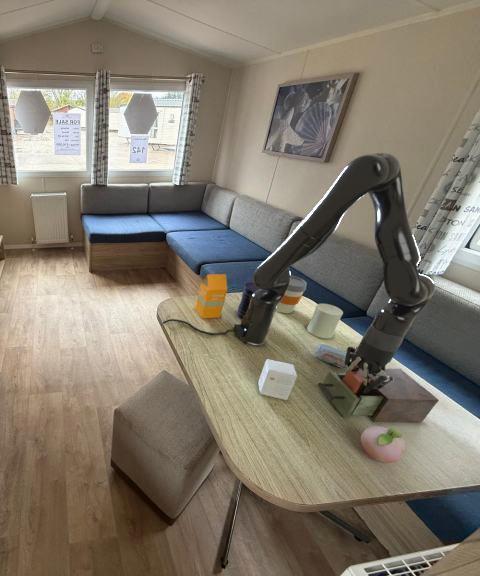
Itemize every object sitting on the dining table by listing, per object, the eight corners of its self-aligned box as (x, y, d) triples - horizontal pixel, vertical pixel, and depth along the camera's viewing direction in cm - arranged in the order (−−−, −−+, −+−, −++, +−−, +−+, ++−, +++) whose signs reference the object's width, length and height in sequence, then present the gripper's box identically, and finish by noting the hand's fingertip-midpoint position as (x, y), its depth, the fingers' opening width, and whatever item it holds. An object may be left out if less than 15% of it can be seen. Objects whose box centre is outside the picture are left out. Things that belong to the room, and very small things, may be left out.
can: (336, 333, 131) (347, 310, 125) (326, 341, 126) (338, 316, 120) (312, 323, 137) (322, 300, 132) (302, 329, 133) (312, 306, 127)
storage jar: (234, 309, 146) (241, 281, 139) (255, 311, 145) (264, 283, 138) (239, 321, 137) (248, 292, 130) (262, 323, 136) (272, 294, 129)
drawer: (329, 417, 91) (340, 398, 88) (306, 388, 101) (315, 370, 98) (389, 418, 92) (402, 400, 88) (360, 389, 102) (370, 371, 98)
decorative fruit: (362, 435, 87) (378, 411, 82) (398, 459, 81) (418, 434, 76) (347, 452, 83) (364, 427, 78) (385, 478, 77) (405, 453, 72)
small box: (283, 388, 102) (294, 364, 97) (287, 401, 98) (298, 376, 93) (257, 382, 104) (266, 358, 100) (259, 394, 100) (268, 369, 95)
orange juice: (195, 309, 145) (203, 270, 136) (212, 308, 146) (222, 270, 137) (201, 318, 138) (210, 278, 129) (220, 317, 139) (230, 278, 130)
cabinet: (373, 422, 91) (388, 399, 87) (343, 389, 103) (355, 367, 98) (421, 422, 92) (439, 400, 87) (386, 390, 103) (400, 368, 98)
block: (352, 393, 91) (358, 381, 89) (341, 381, 95) (347, 370, 93) (367, 393, 91) (374, 382, 89) (355, 382, 95) (362, 371, 93)
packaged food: (349, 375, 109) (355, 364, 106) (310, 360, 115) (315, 349, 113) (351, 363, 115) (356, 352, 112) (314, 349, 121) (318, 339, 119)
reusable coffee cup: (295, 305, 151) (305, 277, 144) (298, 317, 141) (309, 289, 134) (266, 299, 156) (275, 272, 148) (267, 311, 145) (277, 283, 138)
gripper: (348, 326, 92) (326, 370, 100) (388, 359, 79) (360, 405, 87) (373, 327, 92) (349, 370, 100) (417, 359, 79) (386, 406, 87)
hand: (354, 386), depth 93 cm, fingers closed on block, 4 cm apart
